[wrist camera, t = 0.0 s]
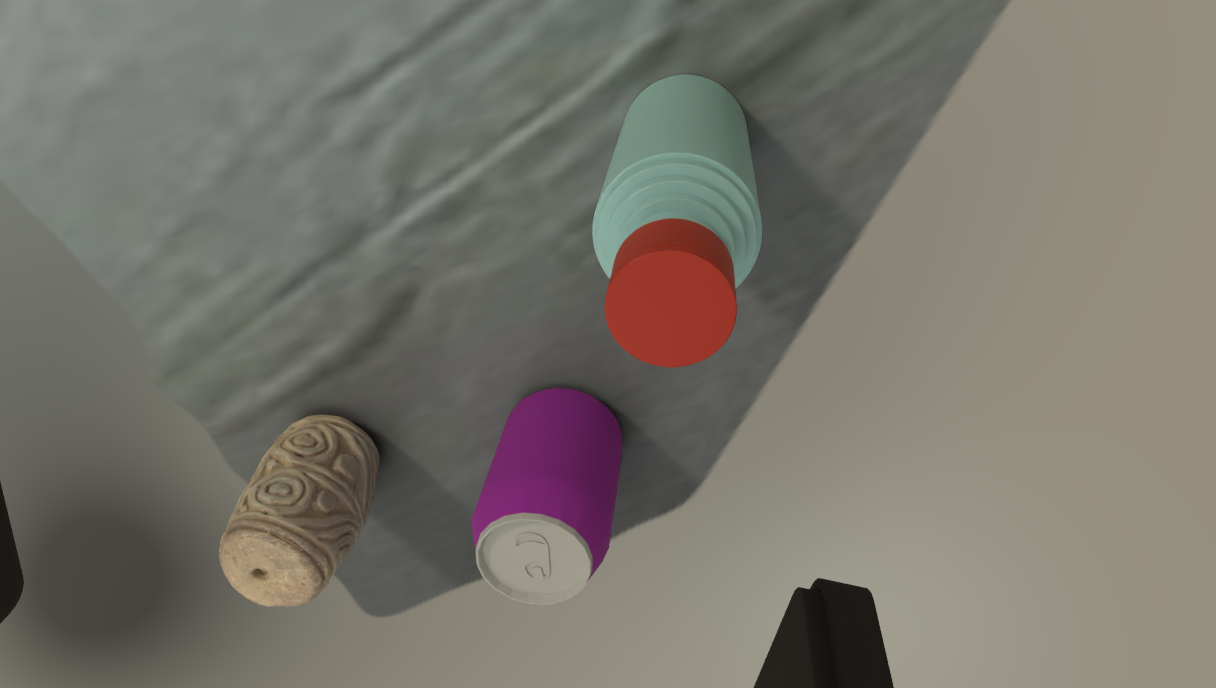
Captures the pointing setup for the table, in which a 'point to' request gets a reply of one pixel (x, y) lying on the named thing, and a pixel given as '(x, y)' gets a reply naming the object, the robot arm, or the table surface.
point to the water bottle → (682, 170)
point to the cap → (671, 293)
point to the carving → (300, 512)
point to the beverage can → (549, 497)
